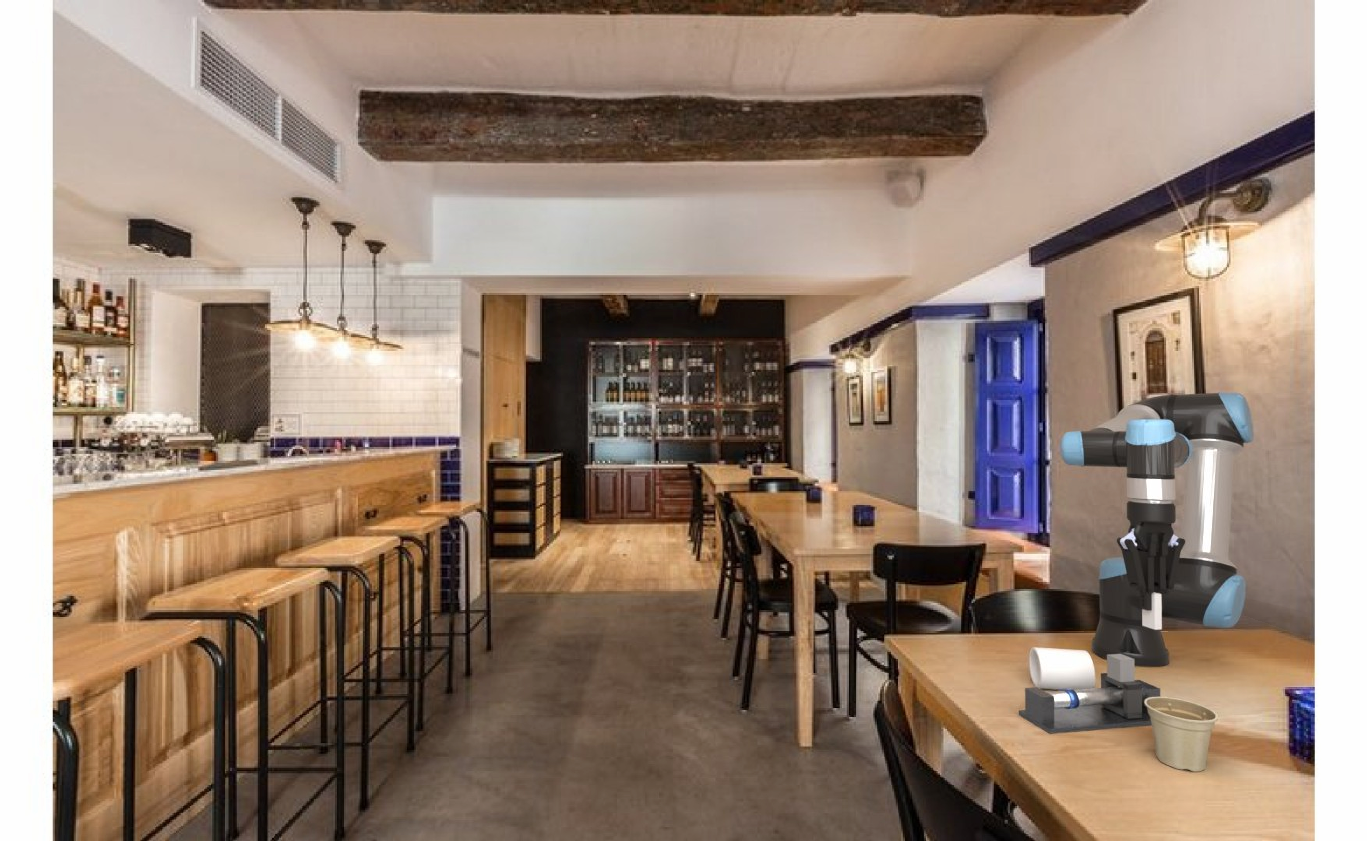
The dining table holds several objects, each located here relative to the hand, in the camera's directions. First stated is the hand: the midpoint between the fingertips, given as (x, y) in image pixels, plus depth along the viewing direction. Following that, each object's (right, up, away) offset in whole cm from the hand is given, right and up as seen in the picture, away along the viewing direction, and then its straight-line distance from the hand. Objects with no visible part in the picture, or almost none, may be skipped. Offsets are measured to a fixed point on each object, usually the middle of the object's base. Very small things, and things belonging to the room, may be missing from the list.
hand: (1151, 627), depth 123 cm
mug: (-10, -17, +14) cm, 24 cm away
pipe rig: (-13, -16, -2) cm, 21 cm away
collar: (-7, -16, -1) cm, 18 cm away
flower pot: (-9, -16, -19) cm, 26 cm away
